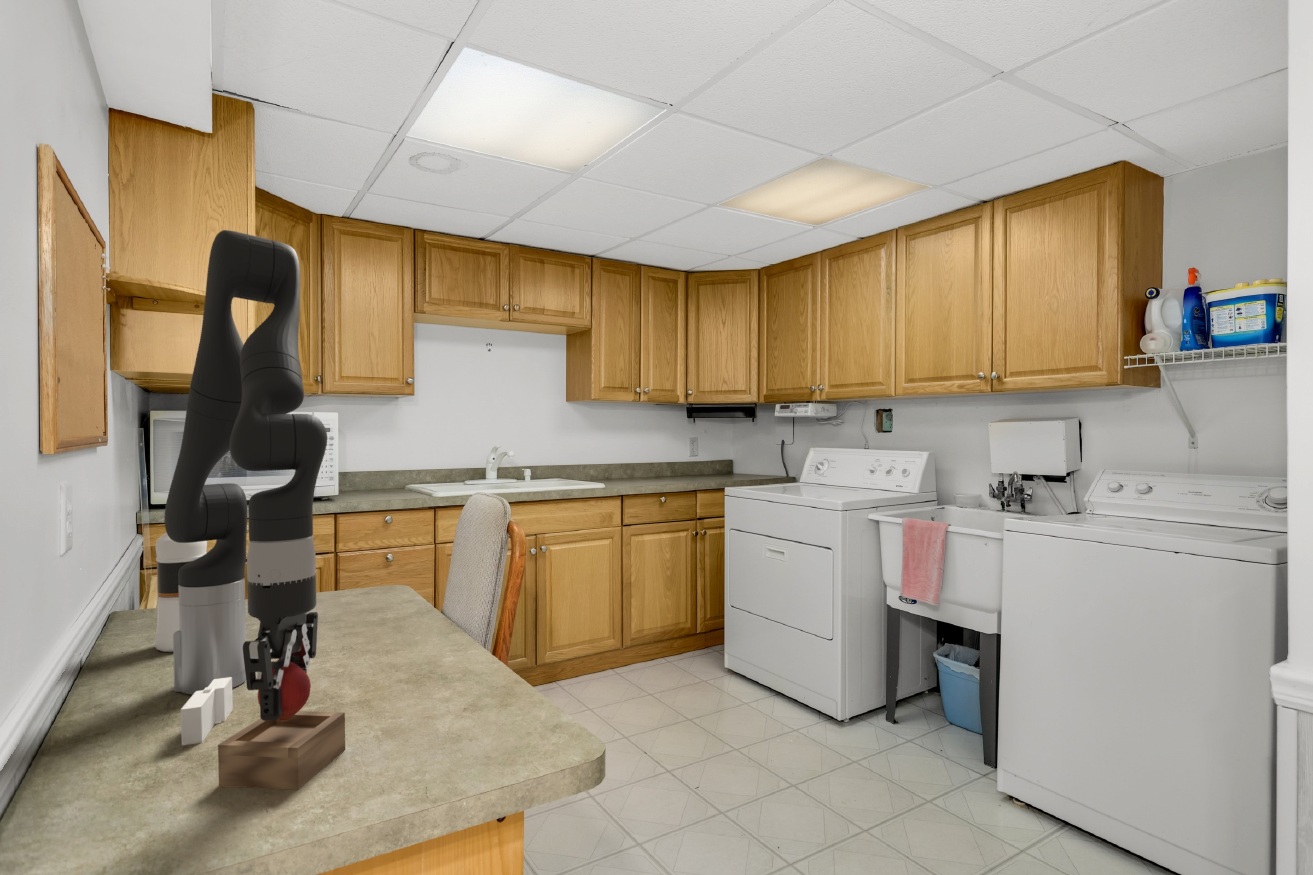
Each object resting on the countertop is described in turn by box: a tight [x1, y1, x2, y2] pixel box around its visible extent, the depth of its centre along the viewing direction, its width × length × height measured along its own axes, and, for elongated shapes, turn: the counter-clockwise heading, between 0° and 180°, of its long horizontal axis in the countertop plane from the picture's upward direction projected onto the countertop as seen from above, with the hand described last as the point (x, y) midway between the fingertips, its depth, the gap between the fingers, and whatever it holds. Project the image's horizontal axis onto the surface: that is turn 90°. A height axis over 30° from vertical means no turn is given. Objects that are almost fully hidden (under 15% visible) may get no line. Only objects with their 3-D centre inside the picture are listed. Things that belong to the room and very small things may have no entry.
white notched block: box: [180, 677, 234, 746], centre depth 99 cm, size 15×11×6 cm
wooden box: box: [217, 710, 346, 790], centre depth 86 cm, size 10×10×5 cm
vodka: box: [154, 532, 208, 653], centre depth 135 cm, size 9×9×30 cm
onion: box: [257, 659, 312, 721], centre depth 86 cm, size 6×6×8 cm
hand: (284, 707), depth 86 cm, fingers closed on onion, 6 cm apart
